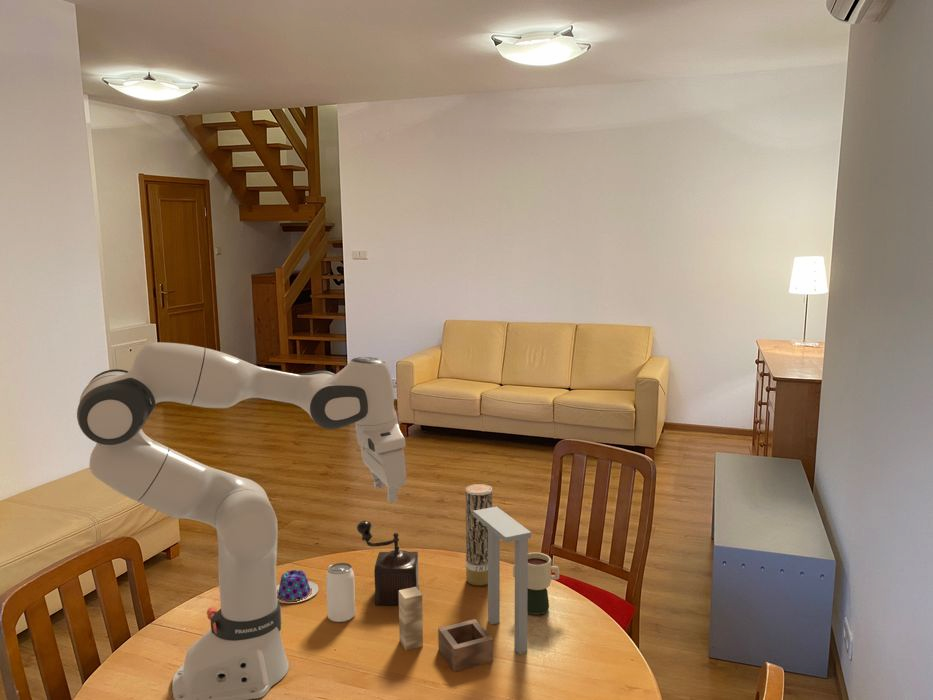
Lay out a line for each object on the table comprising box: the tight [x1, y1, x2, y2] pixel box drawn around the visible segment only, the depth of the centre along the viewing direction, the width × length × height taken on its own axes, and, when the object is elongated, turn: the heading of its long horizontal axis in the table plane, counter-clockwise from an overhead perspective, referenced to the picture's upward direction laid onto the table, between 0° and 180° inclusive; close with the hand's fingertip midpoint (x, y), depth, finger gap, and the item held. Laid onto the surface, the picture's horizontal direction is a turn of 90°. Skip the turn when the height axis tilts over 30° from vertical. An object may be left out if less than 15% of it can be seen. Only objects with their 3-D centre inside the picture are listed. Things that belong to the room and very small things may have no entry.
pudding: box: [277, 569, 319, 604], centre depth 176 cm, size 12×12×5 cm
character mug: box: [512, 552, 560, 615], centre depth 167 cm, size 11×7×13 cm, turn 86°
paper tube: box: [465, 483, 493, 587], centre depth 180 cm, size 7×7×25 cm
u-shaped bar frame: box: [473, 506, 532, 655], centre depth 154 cm, size 6×16×27 cm, turn 24°
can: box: [325, 562, 356, 623], centre depth 165 cm, size 6×6×12 cm
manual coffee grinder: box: [356, 520, 420, 607], centre depth 174 cm, size 16×11×18 cm
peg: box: [398, 587, 424, 652], centre depth 153 cm, size 4×4×12 cm
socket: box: [437, 618, 494, 673], centre depth 149 cm, size 9×9×5 cm
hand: (385, 494), depth 149 cm, fingers open, 8 cm apart
